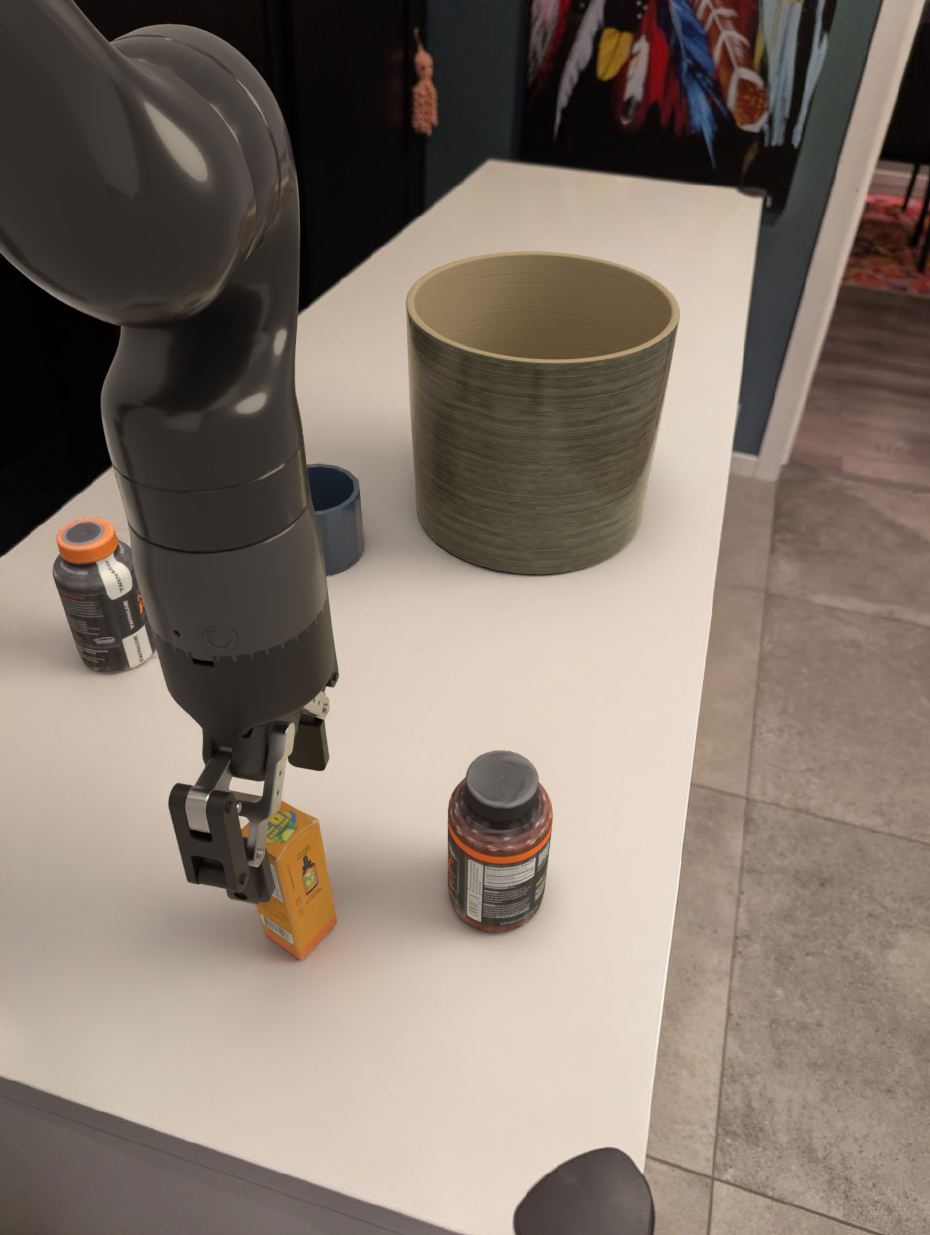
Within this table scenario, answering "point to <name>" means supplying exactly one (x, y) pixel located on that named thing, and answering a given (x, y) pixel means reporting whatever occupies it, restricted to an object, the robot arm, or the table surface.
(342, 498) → the cup
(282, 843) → the supplement box
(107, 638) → the pill bottle
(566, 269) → the planter
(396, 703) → the table surface
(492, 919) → the supplement bottle
